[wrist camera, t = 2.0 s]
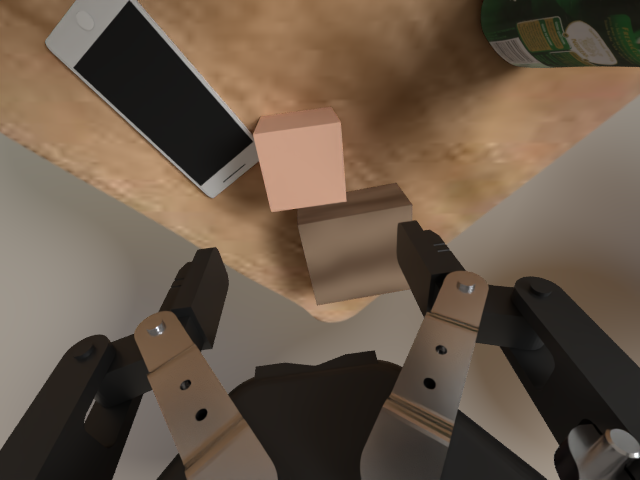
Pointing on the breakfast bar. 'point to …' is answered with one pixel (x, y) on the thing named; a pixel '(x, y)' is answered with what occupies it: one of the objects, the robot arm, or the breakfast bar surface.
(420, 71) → the breakfast bar surface
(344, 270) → the walnut block
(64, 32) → the smartphone
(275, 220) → the breakfast bar surface
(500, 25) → the coffee jar
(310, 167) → the terracotta cube
